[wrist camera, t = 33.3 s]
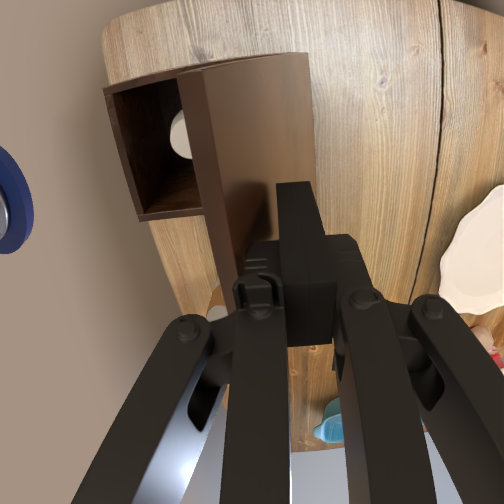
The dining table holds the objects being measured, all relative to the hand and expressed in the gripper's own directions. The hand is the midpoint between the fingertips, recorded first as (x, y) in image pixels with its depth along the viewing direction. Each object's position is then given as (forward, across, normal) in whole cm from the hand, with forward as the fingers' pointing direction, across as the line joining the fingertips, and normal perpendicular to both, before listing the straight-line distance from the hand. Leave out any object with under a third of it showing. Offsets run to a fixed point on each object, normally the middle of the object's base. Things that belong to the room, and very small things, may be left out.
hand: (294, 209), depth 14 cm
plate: (+26, +39, -24) cm, 53 cm away
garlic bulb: (+26, +42, -46) cm, 67 cm away
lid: (+4, -1, 0) cm, 4 cm away
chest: (+26, -6, 0) cm, 26 cm away
